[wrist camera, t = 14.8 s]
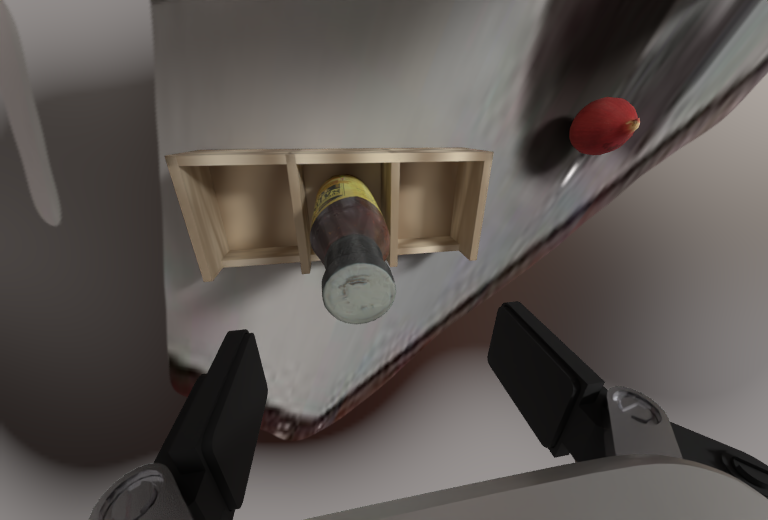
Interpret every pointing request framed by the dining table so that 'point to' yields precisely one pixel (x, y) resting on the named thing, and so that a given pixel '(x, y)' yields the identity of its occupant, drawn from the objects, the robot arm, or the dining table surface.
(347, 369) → the dining table surface
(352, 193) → the sauce bottle
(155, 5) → the dining table surface
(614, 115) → the onion
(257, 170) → the wooden compartment shelf
